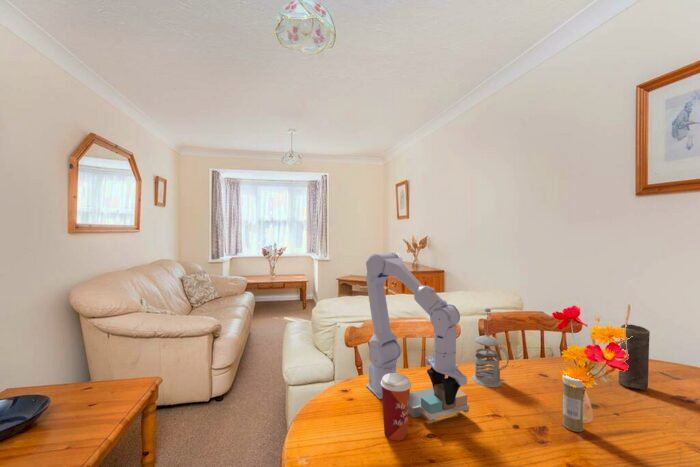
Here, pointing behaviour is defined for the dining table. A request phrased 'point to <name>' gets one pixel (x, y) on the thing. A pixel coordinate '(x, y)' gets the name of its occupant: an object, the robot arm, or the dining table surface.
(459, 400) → the block
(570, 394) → the sprinkles bottle
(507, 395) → the dining table surface
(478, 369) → the french press
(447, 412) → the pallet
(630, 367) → the candle
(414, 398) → the dock
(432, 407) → the block
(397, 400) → the paper cup
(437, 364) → the robot arm
